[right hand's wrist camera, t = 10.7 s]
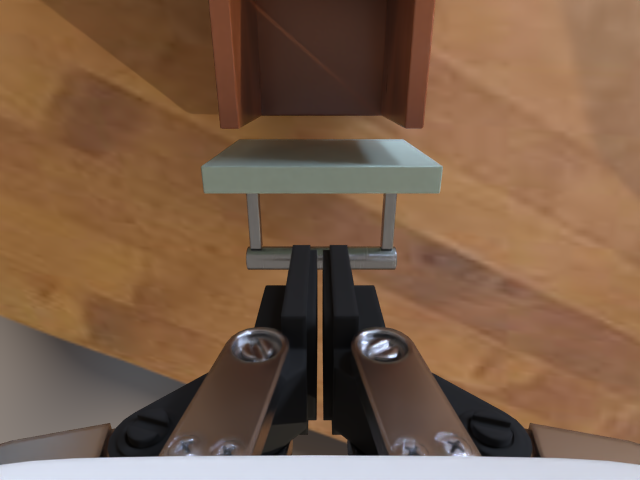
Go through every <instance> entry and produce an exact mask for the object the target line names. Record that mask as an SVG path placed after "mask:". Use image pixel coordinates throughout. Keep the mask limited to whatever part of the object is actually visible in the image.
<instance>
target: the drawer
mask: <svg viewBox="0 0 640 480" xmlns="http://www.w3.org/2000/svg"><path fill="white" fill-rule="evenodd" d="M209 10H210V21H211V32H212V43H213V53H214V64H215V75H216V86H217V96H218V107H219V118H220V127H221V128H222V129H238V128H240V127H242V126H244V125H246V124H247V123H249V122H251V121H253V120H254V119H256V118H258V117H260V116H384V117H385V118H387V119H389V120H391V121H393V122H395V123H397V124H398V125H400V126H402V127H404V128H406V129H421V128H423V125H424V115H425V104H426V94H427V84H428V73H429V63H430V52H431V42H432V32H433V21H434V11H435V0H209ZM442 169H443V167H442V166H441V165H440V164H438V163H437V162H435V161H434V160H432V159H431V158H430V157H428V156H427V155H425V154H424V153H422V152H421V151H419V150H418V149H416V148H415V147H414V146H412V145H411V144H409V143H408V142H406V141H405V140H403V139H240V140H238V141H236V142H235V143H234V144H232V145H231V146H229V147H228V148H227V149H225V150H224V151H222V152H221V153H220V154H218V155H217V156H215V157H214V158H212V159H211V160H210V161H208V162H207V163H205V164H204V165H203V166H201V172H202V180H203V189H204V193H246V196H247V210H248V223H249V237H250V247H248V248H247V253H246V264H247V268H248V270H289V265H290V259H291V253H292V247H262V245H263V244H262V228H261V211H260V194H259V193H384V195H383V211H382V227H381V243H380V245H381V247H348V253H349V259H350V265H351V270H395V268H396V264H397V253H396V248H395V247H393V239H394V225H395V212H396V199H397V193H440V186H441V178H442ZM310 249H311V250H317V270H323V250H329V249H330V247H310Z"/></svg>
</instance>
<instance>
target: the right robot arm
mask: <svg viewBox="0 0 640 480" xmlns="http://www.w3.org/2000/svg"><path fill="white" fill-rule="evenodd" d="M308 420H317V250H311V249H310V245H293V247H292V253H291V259H290V265H289V271H288V277H287V283H286V285H267V286H266V287H265V290H264V294H263V298H262V301H261V305H260V309H259V312H258V316H257V320H256V324H255V327H254V328H249V329H246V330H243V331H240V332H238V333H237V334H235V335H234V336H232V337H231V338H230V339H229V340H228V342H227V343H226V344H225V346H224V348H223V349H222V351H221V353H220V354H219V356H218V358H217V359H216V361H215V363H214V364H213V366H212V368H211V369H210V371H209V372H208V373H207V374H205V375H203V376H201V377H199V378H197V379H196V380H194V381H192V382H190V383H188V384H186V385H185V386H183V387H181V388H179V389H177V390H175V391H174V392H172V393H170V394H168V395H166V396H164V397H163V398H161V399H159V400H157V401H155V402H153V403H151V404H150V405H148V406H146V407H144V408H142V409H141V410H139V411H137V412H135V413H133V414H132V415H130V416H129V417H128V418H126V419H125V420H123V421H122V422H121V423H120V424H119V425H118V427H116V429H111V425H110V423H108V424H102V425H96V426H91V427H85V428H80V429H74V430H69V431H63V432H57V433H52V434H46V435H41V436H35V437H30V438H24V439H18V440H13V441H9V442H5V443H2V444H0V480H640V444H638V443H635V442H631V441H627V440H622V439H616V438H611V437H605V436H600V435H594V434H588V433H583V432H577V431H572V430H566V429H560V428H555V427H549V426H544V425H538V424H533V423H530V425H529V429H524V427H523V426H522V425H521V424H520V423H519V422H518V421H517V420H515V419H514V418H512V417H511V416H510V415H508V414H507V413H505V412H503V411H501V410H500V409H498V408H496V407H494V406H492V405H490V404H489V403H487V402H485V401H483V400H481V399H479V398H478V397H476V396H474V395H472V394H470V393H468V392H467V391H465V390H463V389H461V388H459V387H457V386H455V385H454V384H452V383H450V382H448V381H446V380H444V379H443V378H441V377H439V376H437V375H435V374H433V373H432V372H431V371H430V369H429V368H428V366H427V364H426V363H425V361H424V359H423V358H422V356H421V354H420V353H419V351H418V349H417V348H416V346H415V344H414V343H413V342H412V340H411V339H410V338H409V337H408V336H406V335H405V334H403V333H402V332H400V331H397V330H394V329H391V328H386V327H385V324H384V320H383V316H382V312H381V309H380V305H379V301H378V298H377V294H376V290H375V287H374V286H373V285H354V283H353V277H352V271H351V265H350V259H349V253H348V247H347V245H330V249H329V250H323V420H332V435H342V436H344V437H345V438H346V439H347V449H348V456H323V455H322V456H321V455H316V456H292V449H293V439H294V438H295V437H296V436H298V435H308Z"/></svg>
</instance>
